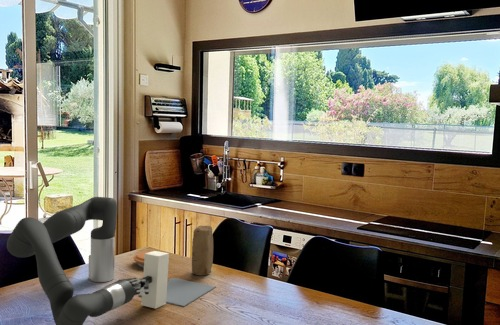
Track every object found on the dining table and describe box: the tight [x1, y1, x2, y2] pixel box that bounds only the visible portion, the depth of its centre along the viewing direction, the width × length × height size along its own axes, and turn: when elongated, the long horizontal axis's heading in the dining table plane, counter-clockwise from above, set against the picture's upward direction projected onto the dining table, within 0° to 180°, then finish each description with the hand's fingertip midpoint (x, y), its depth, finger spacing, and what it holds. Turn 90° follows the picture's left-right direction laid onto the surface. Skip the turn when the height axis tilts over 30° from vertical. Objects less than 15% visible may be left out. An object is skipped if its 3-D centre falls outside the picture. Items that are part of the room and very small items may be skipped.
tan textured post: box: [191, 225, 214, 276], centre depth 196 cm, size 11×8×20 cm
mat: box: [137, 277, 217, 308], centre depth 173 cm, size 20×22×1 cm
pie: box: [133, 250, 154, 269], centre depth 205 cm, size 16×16×5 cm
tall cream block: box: [141, 250, 170, 309], centre depth 160 cm, size 6×6×18 cm
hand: (150, 278), depth 157 cm, fingers closed
